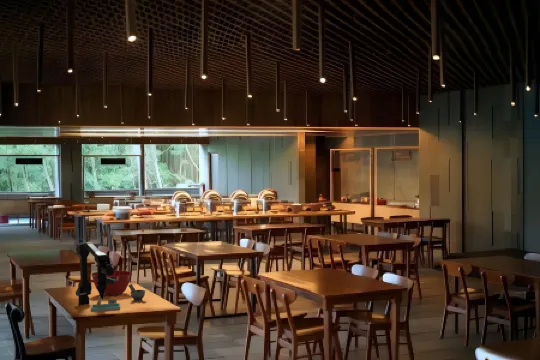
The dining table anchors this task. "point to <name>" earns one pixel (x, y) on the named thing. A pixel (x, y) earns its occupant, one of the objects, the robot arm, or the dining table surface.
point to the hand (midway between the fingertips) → (102, 298)
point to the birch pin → (99, 301)
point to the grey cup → (112, 301)
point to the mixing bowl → (120, 283)
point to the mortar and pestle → (137, 293)
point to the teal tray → (105, 307)
